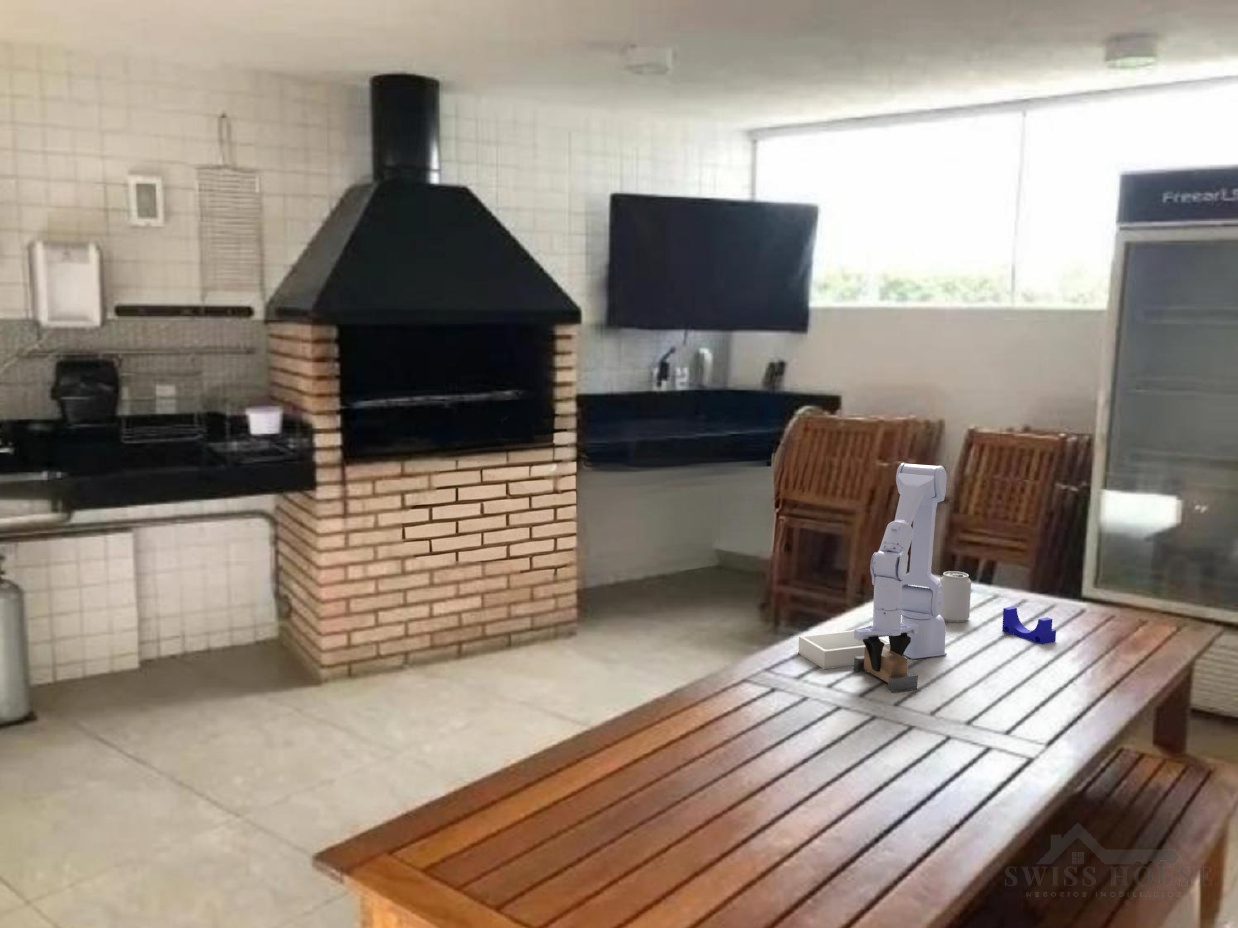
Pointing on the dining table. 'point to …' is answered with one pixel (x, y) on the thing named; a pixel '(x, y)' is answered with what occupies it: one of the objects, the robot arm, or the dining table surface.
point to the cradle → (892, 678)
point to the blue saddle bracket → (1015, 627)
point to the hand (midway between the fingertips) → (885, 668)
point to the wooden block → (887, 664)
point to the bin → (833, 648)
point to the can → (956, 596)
